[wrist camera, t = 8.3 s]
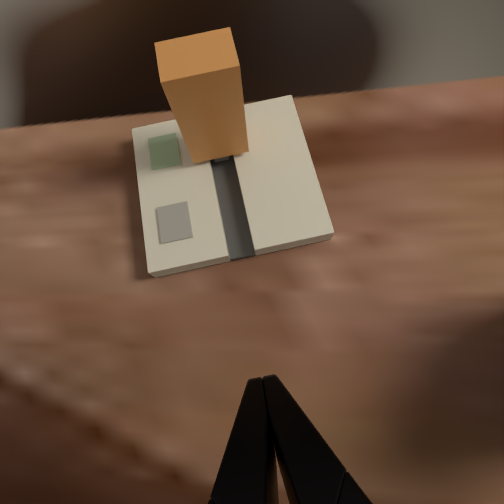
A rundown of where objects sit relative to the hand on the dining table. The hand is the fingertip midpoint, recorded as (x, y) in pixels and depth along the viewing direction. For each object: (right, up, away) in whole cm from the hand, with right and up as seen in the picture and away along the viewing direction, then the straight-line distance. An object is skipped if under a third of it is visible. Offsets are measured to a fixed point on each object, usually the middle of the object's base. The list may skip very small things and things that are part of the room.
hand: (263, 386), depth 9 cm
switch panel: (-2, +10, +17) cm, 20 cm away
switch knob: (-3, +13, +17) cm, 22 cm away
